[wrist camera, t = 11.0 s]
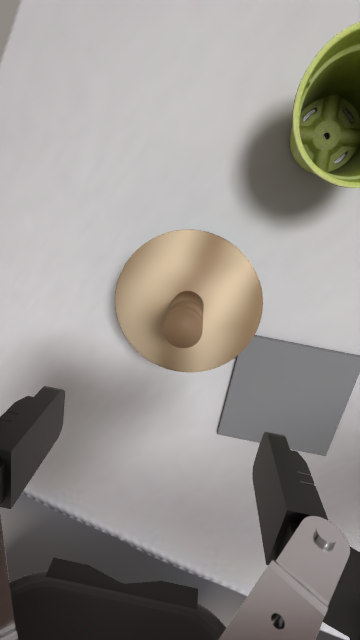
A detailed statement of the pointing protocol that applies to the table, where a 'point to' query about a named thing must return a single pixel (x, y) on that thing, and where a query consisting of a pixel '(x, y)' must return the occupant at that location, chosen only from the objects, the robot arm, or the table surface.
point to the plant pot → (330, 112)
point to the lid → (189, 301)
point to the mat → (288, 393)
